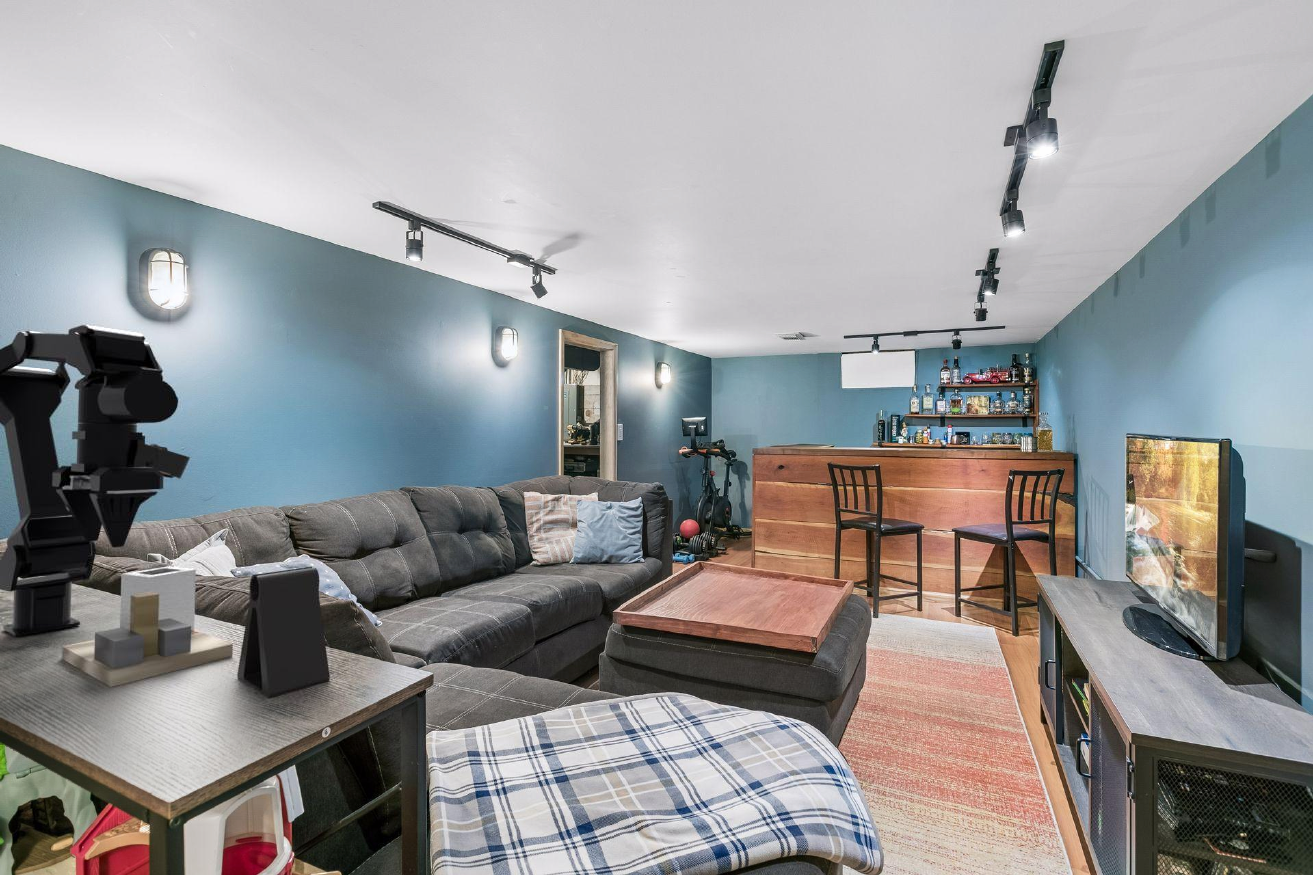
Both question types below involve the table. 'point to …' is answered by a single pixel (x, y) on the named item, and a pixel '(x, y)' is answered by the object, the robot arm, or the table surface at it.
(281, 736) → the table surface
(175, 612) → the steel sleeve
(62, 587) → the robot arm
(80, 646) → the board
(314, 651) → the phone stand
